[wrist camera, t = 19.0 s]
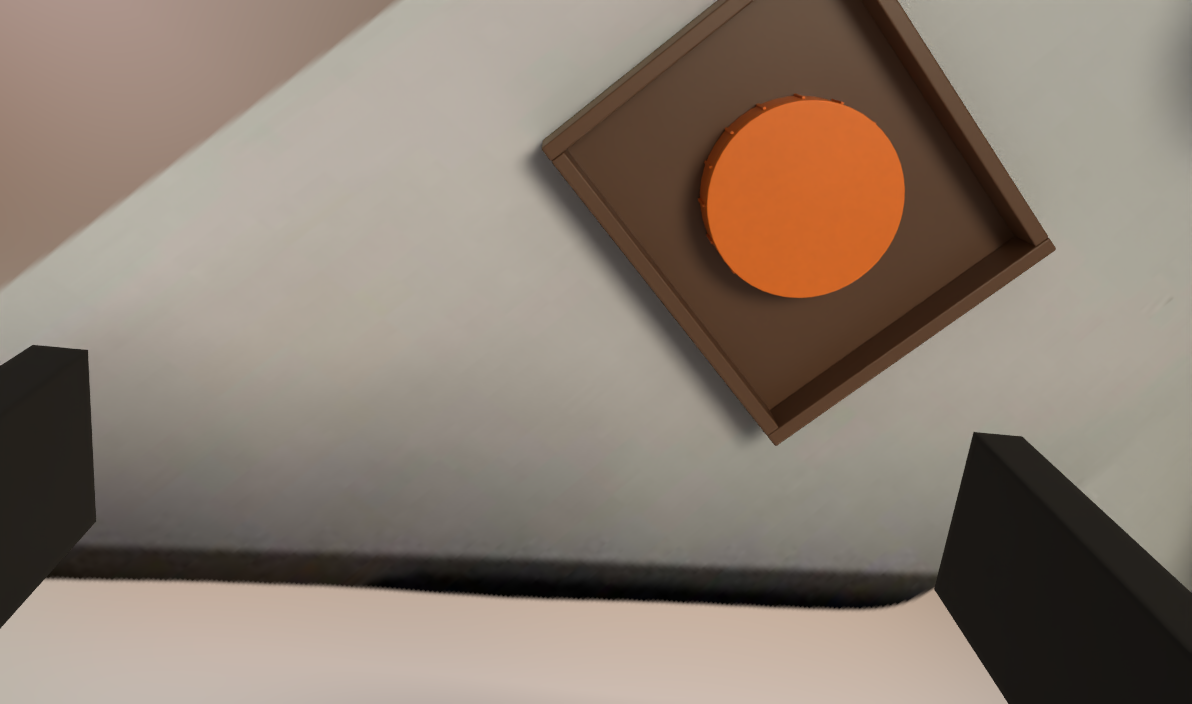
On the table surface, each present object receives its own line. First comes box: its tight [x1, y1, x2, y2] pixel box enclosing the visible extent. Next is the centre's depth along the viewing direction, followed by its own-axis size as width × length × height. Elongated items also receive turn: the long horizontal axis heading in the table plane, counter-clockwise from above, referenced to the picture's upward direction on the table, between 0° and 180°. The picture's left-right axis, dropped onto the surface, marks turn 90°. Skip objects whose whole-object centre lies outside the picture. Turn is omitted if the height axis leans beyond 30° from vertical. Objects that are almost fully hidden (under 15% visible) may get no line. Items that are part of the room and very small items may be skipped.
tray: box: [542, 0, 1056, 446], centre depth 39 cm, size 15×13×2 cm
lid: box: [698, 94, 905, 298], centre depth 39 cm, size 8×8×2 cm
